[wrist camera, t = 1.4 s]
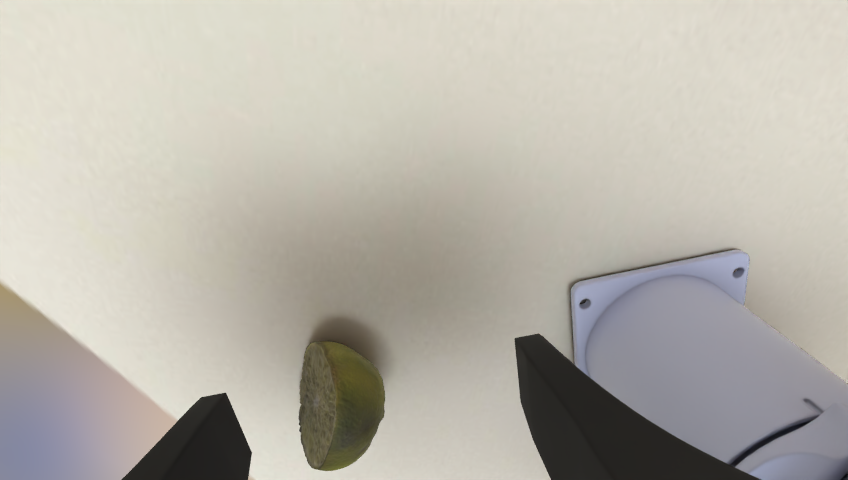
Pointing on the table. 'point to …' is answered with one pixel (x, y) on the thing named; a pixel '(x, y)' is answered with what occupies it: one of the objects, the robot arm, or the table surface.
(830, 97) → the table surface
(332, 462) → the lime
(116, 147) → the table surface
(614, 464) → the robot arm
